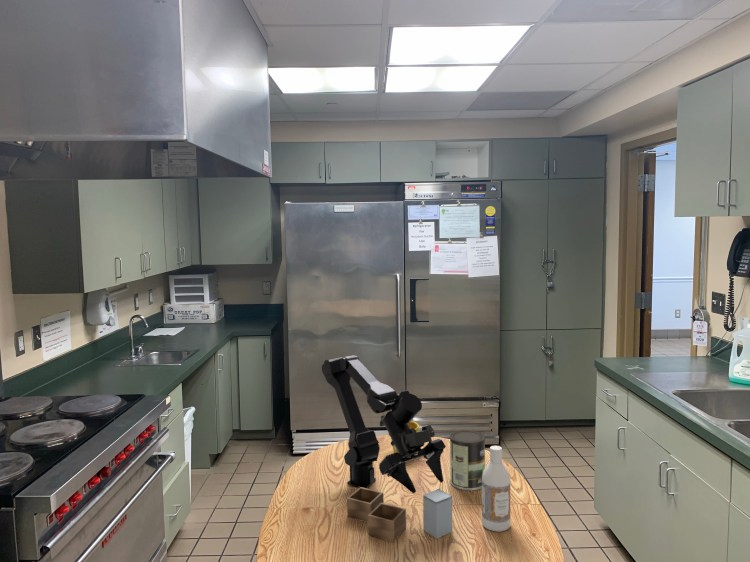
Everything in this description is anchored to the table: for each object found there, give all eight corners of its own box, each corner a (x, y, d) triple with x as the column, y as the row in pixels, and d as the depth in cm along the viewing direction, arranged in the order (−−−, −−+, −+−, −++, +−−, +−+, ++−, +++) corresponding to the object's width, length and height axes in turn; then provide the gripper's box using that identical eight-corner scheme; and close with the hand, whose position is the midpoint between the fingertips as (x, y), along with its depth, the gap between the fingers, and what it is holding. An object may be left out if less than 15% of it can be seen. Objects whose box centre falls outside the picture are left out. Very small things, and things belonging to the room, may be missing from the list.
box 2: (368, 534, 130) (367, 515, 129) (381, 521, 136) (381, 502, 135) (393, 542, 126) (393, 522, 126) (406, 528, 132) (405, 508, 132)
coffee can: (485, 476, 160) (485, 430, 159) (485, 492, 150) (485, 443, 149) (450, 473, 162) (450, 428, 161) (448, 489, 152) (448, 441, 151)
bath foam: (489, 534, 129) (489, 454, 127) (477, 519, 136) (477, 443, 134) (515, 530, 130) (515, 451, 129) (502, 516, 137) (502, 441, 136)
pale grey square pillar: (423, 529, 131) (423, 494, 131) (439, 523, 134) (438, 488, 134) (436, 538, 127) (436, 502, 127) (452, 531, 130) (452, 496, 130)
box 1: (347, 516, 138) (347, 498, 138) (360, 504, 144) (360, 486, 144) (370, 523, 135) (370, 504, 134) (383, 510, 141) (383, 492, 141)
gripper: (384, 424, 130) (414, 483, 122) (440, 409, 141) (471, 462, 133) (367, 446, 137) (394, 503, 129) (421, 429, 148) (449, 481, 140)
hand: (428, 487), depth 133 cm, fingers open, 9 cm apart
